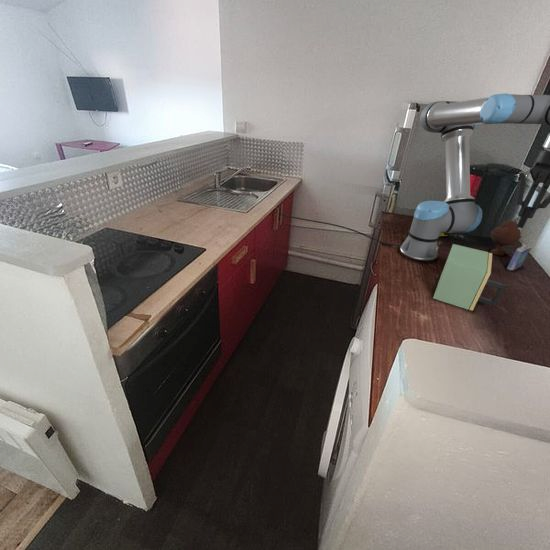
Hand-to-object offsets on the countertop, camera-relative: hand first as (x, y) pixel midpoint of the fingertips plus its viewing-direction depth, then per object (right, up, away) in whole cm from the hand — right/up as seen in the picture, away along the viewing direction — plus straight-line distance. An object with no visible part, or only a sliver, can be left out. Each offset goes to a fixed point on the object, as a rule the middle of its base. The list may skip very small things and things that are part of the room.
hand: (519, 226), depth 97 cm
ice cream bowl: (+21, -6, +38) cm, 44 cm away
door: (-9, -25, +5) cm, 27 cm away
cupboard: (-17, -23, +9) cm, 30 cm away
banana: (+3, +3, +52) cm, 52 cm away
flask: (+19, -13, +26) cm, 35 cm away
